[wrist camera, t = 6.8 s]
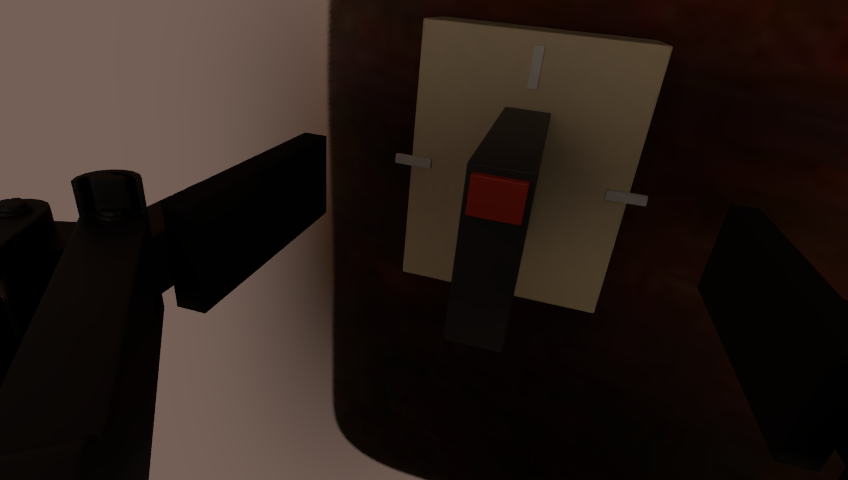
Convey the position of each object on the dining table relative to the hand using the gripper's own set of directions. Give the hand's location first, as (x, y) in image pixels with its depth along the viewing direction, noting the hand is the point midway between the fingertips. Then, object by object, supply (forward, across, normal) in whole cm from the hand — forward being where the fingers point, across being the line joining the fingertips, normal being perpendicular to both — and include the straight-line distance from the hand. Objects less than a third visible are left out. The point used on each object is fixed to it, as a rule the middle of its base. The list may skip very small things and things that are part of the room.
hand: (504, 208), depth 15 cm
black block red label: (+3, 0, 0) cm, 3 cm away
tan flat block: (+6, 0, 0) cm, 6 cm away
